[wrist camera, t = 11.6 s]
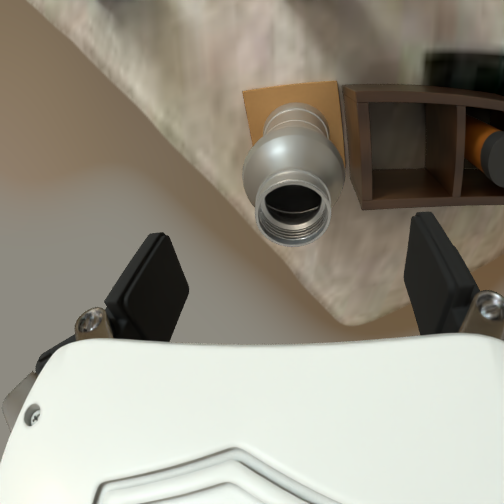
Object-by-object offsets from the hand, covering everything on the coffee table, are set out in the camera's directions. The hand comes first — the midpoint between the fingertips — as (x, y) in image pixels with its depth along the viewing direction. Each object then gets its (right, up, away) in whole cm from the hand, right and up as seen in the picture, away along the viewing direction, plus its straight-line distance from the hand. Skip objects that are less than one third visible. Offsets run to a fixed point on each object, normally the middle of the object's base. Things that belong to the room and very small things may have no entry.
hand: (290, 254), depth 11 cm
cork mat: (+3, +13, +20) cm, 24 cm away
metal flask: (+3, +13, +19) cm, 24 cm away
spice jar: (+23, +14, +16) cm, 31 cm away
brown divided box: (+19, +14, +17) cm, 29 cm away
